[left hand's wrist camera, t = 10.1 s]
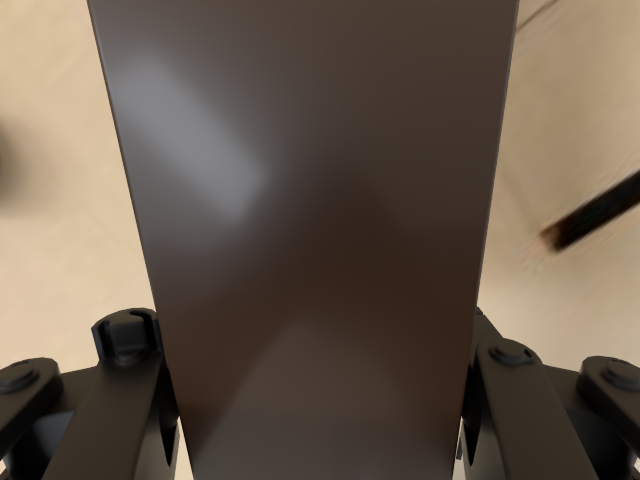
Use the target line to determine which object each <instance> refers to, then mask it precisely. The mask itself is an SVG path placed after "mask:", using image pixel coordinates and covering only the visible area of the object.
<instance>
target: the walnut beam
mask: <svg viewBox="0 0 640 480" xmlns="http://www.w3.org/2000/svg"><path fill="white" fill-rule="evenodd" d="M519 1H520V0H87V4H88V9H89V13H90V17H91V22H92V26H93V31H94V35H95V40H96V44H97V49H98V53H99V58H100V62H101V67H102V71H103V76H104V80H105V85H106V89H107V94H108V98H109V102H110V107H111V111H112V116H113V120H114V125H115V129H116V134H117V138H118V143H119V147H120V152H121V156H122V161H123V165H124V170H125V174H126V179H127V183H128V187H129V192H130V196H131V201H132V205H133V210H134V214H135V219H136V223H137V228H138V232H139V237H140V241H141V246H142V250H143V255H144V259H145V263H146V268H147V272H148V277H149V281H150V286H151V290H152V295H153V299H154V304H155V308H156V313H157V317H158V322H159V326H160V331H161V335H162V340H163V344H164V348H165V353H166V357H167V362H168V366H169V371H170V375H171V380H172V384H173V389H174V393H175V398H176V402H177V407H178V411H179V416H180V420H181V425H182V429H183V433H184V438H185V442H186V447H187V451H188V456H189V460H190V465H191V469H192V474H193V478H194V480H452V477H453V470H454V463H455V456H456V449H457V442H458V435H459V428H460V421H461V413H462V406H463V399H464V392H465V385H466V378H467V371H468V364H469V356H470V349H471V342H472V335H473V328H474V321H475V314H476V307H477V300H478V292H479V285H480V278H481V271H482V264H483V257H484V250H485V243H486V235H487V228H488V221H489V214H490V207H491V200H492V193H493V186H494V178H495V171H496V164H497V157H498V150H499V143H500V136H501V129H502V122H503V114H504V107H505V100H506V93H507V86H508V79H509V72H510V65H511V57H512V50H513V43H514V36H515V29H516V22H517V15H518V8H519Z"/></svg>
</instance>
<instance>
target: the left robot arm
mask: <svg viewBox="0 0 640 480" xmlns="http://www.w3.org/2000/svg"><path fill="white" fill-rule="evenodd" d="M91 330H92V334H93V338H94V341H95V345H96V349H97V353H98V357H99V362H98V364H97V366H94V367H91V368H86V369H81V370H77V371H72V372H67V373H62V374H61V373H60V370H59V367H58V364H57V362H55V361H54V360H53V359H50V358H43V357H41V358H33V359H27V360H22V361H21V362H20V361H19V362H16V363H13V364H11V365H10V366H8V367H5V368H3V369H1V370H0V461H1V460H2V459H3V461H4V463H5V466H6V469H5V470H4V471H3V472H2V473H1V475H0V480H174V477H175V469H176V461H177V454H178V446H179V438H180V434H179V427H178V422H177V420H178V417H179V411H178V407H177V402H176V398H175V393H174V389H173V384H172V380H171V375H170V371H169V366H168V362H167V357H166V353H165V348H164V344H163V340H162V335H161V331H160V326H159V322H158V317H157V313H156V312H155V311H153V310H152V309H147V308H130V309H126V310H121V311H118V312H115V313H112V314H110V315H107V316H106V317H104V318H102V319H101V320H99V321H97V322H96V323H95V325H94V326H93V327H92V328H91ZM461 416H462V419H463V422H462V427H461V433H460V438H459V443H458V449H457V455H456V459H458V460H461V457H462V453H463V461H464V469H465V476H466V480H640V473H639V472H638V470H637V469H636V468H635V467H634V464H635V462H636V460H637V458H639V459H640V368H639V367H636V366H634V365H632V364H630V363H629V362H626V361H623V360H621V359H620V360H618V359H617V358H612V357H604V356H592V357H588V358H586V359H585V360H584V361H583V362H582V365H581V369H580V372H576V371H571V370H566V369H561V368H556V367H551V366H548V365H544V364H543V363H542V361H541V360H540V358H539V357H538V356H537V354H536V353H535V352H534V351H532V350H531V349H529V348H528V347H527V346H525V345H523V344H521V343H518V342H516V341H514V340H510V339H506V338H503V337H502V336H501V334H500V333H499V332H498V331H497V330H496V328H495V327H494V326H493V325H492V323H491V322H490V321H489V320H488V318H487V317H486V316H485V315H483V312H482V311H481V310H480V308H479V307H476V314H475V321H474V328H473V335H472V342H471V349H470V356H469V364H468V371H467V378H466V385H465V392H464V399H463V406H462V413H461Z"/></svg>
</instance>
